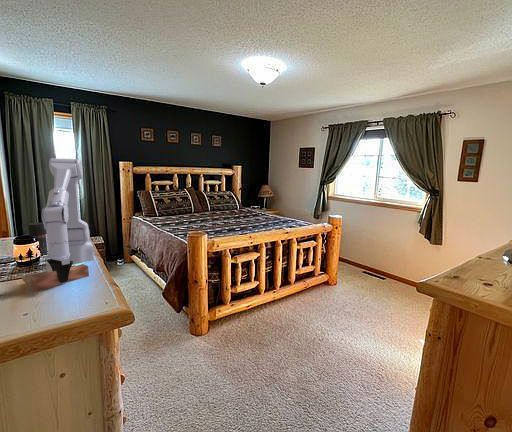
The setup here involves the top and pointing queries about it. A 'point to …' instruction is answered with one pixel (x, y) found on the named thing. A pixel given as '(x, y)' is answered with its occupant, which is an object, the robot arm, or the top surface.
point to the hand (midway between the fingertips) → (61, 280)
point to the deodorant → (39, 236)
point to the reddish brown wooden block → (52, 279)
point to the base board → (27, 277)
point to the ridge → (47, 268)
